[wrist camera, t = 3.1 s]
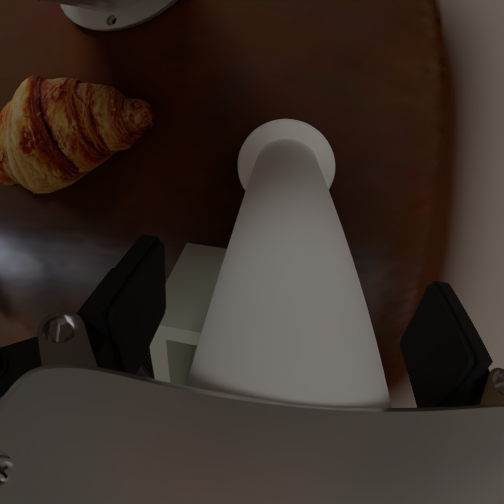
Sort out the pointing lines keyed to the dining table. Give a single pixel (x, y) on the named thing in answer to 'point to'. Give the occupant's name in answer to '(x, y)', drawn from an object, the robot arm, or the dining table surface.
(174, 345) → the open square box
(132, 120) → the croissant
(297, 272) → the candle
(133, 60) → the dining table surface
